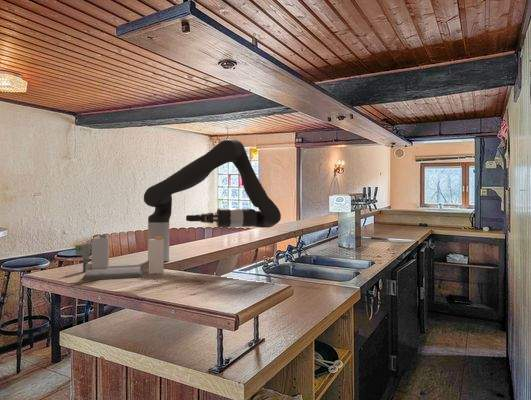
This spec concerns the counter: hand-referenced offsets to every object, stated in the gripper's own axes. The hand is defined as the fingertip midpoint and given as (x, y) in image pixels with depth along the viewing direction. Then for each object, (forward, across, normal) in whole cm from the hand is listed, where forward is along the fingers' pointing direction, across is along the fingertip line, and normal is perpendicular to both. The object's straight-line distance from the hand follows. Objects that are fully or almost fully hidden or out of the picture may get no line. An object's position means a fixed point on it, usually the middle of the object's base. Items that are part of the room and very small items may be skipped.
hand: (187, 218), depth 143 cm
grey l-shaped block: (+25, +3, +20) cm, 32 cm away
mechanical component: (+36, -11, +20) cm, 43 cm away
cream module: (+11, 0, +20) cm, 23 cm away
